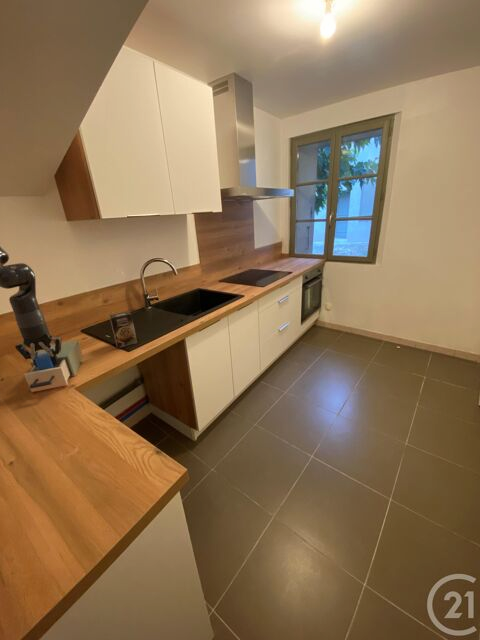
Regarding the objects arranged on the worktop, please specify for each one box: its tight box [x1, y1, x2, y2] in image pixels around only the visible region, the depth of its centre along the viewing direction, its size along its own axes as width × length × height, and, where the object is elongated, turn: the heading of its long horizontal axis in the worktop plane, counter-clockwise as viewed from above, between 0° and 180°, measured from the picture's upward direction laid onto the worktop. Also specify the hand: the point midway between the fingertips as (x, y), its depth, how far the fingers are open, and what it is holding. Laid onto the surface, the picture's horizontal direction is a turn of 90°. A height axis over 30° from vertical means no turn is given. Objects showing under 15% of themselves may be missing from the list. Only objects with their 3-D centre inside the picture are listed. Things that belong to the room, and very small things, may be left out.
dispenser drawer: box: [23, 358, 71, 393], centre depth 97 cm, size 18×11×7 cm, turn 18°
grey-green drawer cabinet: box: [29, 340, 84, 378], centre depth 106 cm, size 15×13×9 cm
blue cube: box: [35, 353, 54, 370], centre depth 96 cm, size 4×4×4 cm
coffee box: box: [108, 310, 138, 349], centre depth 124 cm, size 9×6×16 cm
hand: (47, 365), depth 96 cm, fingers closed on blue cube, 4 cm apart
